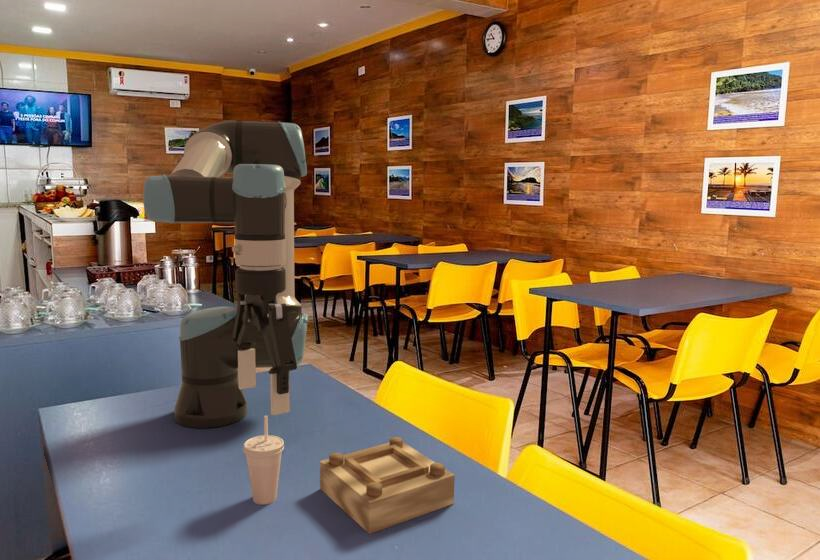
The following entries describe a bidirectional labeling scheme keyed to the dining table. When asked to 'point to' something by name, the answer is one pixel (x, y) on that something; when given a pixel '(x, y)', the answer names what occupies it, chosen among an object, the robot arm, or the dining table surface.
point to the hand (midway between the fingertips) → (262, 399)
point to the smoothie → (264, 465)
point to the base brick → (386, 484)
